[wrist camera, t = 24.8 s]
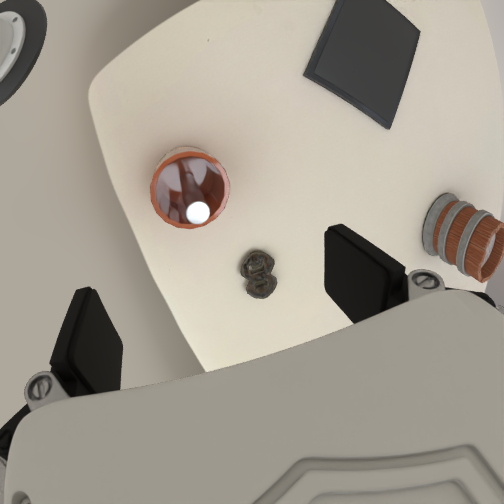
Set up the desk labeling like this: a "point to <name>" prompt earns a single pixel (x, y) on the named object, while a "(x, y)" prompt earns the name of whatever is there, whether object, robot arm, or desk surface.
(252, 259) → the corroded twin loop
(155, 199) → the holder
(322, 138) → the desk surface
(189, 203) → the stylus
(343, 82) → the tablet
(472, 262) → the mug
